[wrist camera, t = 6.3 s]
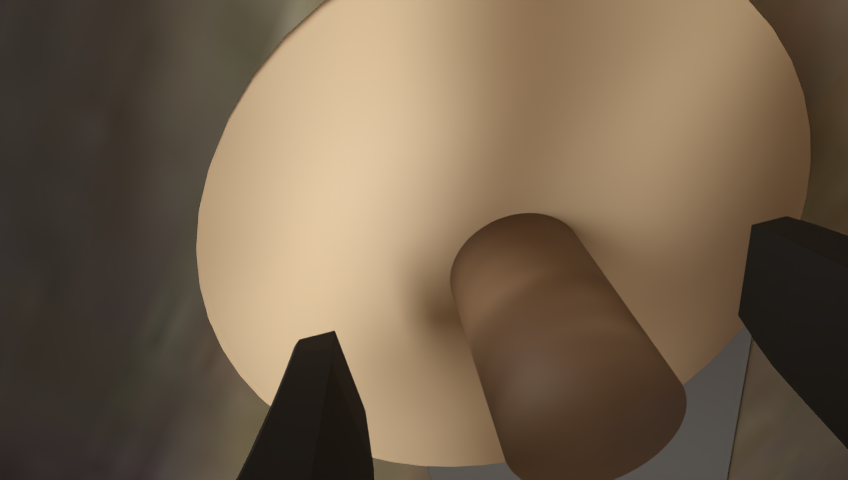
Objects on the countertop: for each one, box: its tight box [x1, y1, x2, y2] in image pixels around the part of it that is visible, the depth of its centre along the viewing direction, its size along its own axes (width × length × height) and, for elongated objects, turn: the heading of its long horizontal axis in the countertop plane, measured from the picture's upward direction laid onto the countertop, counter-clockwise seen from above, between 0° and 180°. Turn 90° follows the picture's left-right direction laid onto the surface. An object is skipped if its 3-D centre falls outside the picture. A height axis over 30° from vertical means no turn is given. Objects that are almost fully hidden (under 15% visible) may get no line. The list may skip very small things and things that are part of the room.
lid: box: [196, 0, 811, 480], centre depth 10 cm, size 12×12×5 cm
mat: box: [427, 325, 752, 480], centre depth 23 cm, size 13×13×1 cm
